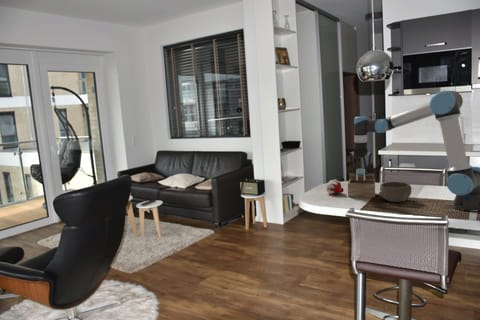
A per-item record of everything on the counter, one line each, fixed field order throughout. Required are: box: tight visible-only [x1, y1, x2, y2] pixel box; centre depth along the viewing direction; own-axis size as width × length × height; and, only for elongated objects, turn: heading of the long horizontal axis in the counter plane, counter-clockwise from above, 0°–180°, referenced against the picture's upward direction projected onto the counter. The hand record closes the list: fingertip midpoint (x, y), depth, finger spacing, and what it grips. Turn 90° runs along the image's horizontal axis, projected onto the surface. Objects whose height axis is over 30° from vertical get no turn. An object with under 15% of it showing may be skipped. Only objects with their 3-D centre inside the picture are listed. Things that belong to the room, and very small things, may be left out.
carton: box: [347, 178, 376, 199], centre depth 254 cm, size 14×16×9 cm
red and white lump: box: [326, 178, 344, 195], centre depth 259 cm, size 9×11×15 cm
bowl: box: [378, 181, 413, 203], centre depth 236 cm, size 17×18×10 cm
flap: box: [348, 168, 376, 180], centre depth 249 cm, size 22×15×4 cm
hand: (360, 179), depth 242 cm, fingers closed on flap, 4 cm apart
